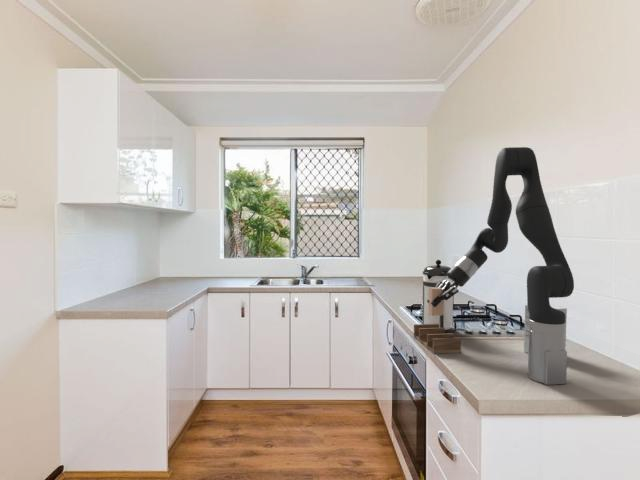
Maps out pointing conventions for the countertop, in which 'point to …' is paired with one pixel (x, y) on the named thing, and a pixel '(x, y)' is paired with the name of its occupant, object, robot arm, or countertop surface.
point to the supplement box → (526, 332)
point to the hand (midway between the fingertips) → (431, 304)
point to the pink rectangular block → (440, 307)
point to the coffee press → (446, 320)
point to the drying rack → (437, 338)
